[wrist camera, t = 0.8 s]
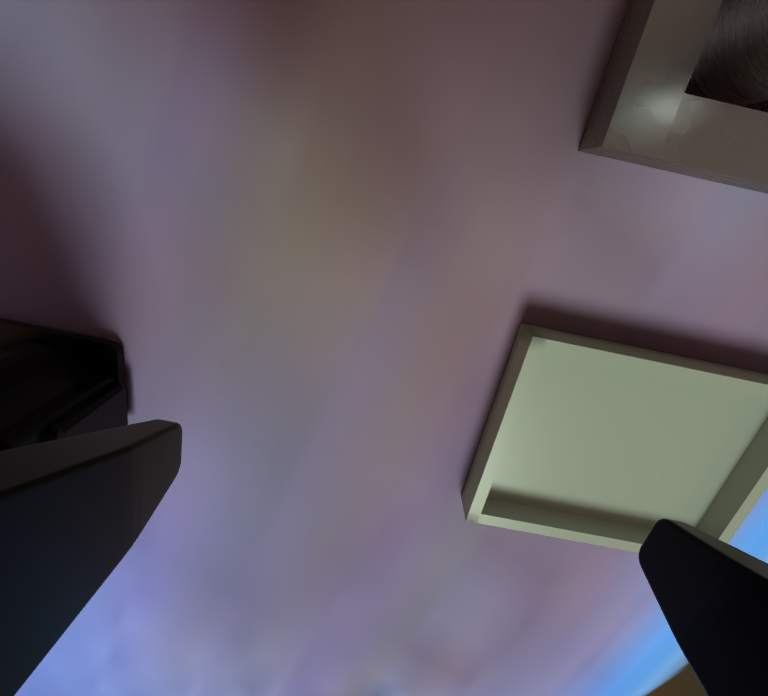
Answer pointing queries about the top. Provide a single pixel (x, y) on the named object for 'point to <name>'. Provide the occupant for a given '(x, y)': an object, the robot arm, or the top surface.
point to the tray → (618, 442)
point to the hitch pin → (736, 54)
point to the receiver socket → (673, 102)
